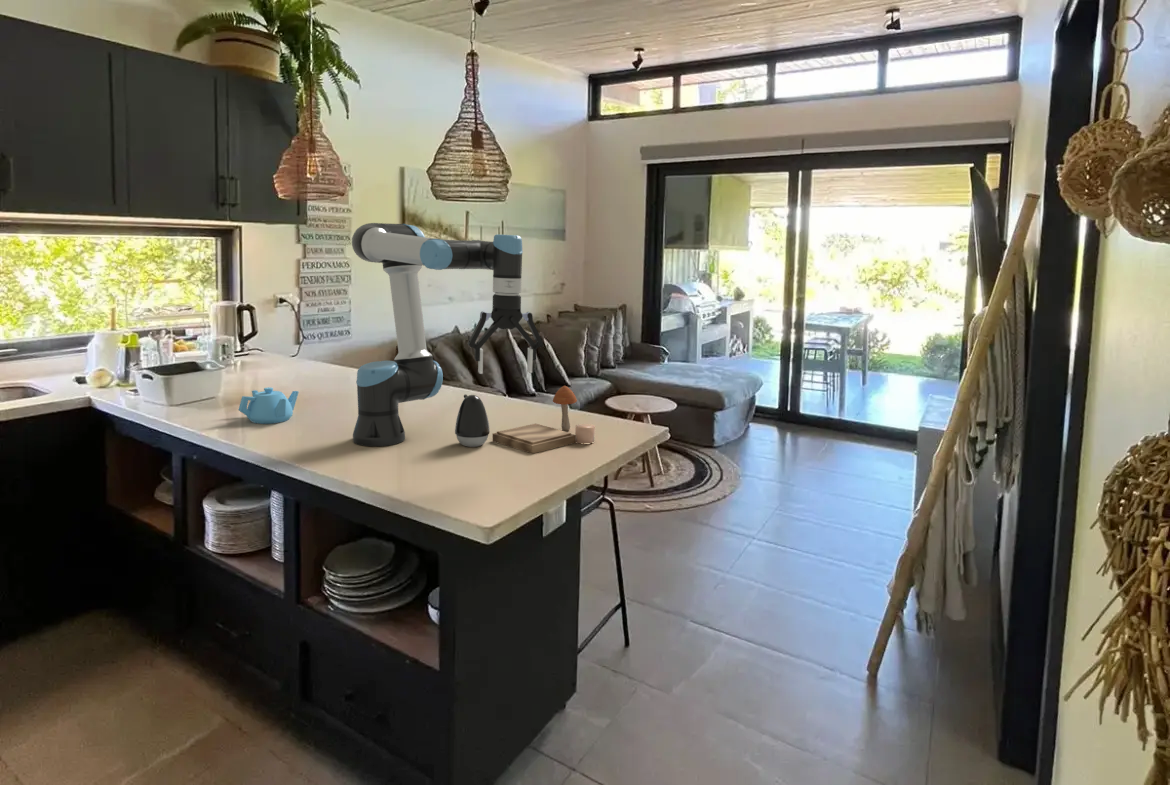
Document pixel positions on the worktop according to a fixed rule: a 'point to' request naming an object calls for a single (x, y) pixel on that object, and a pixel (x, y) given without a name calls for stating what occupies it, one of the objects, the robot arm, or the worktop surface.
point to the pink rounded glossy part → (585, 433)
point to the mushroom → (564, 404)
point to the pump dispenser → (472, 422)
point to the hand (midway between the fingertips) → (505, 372)
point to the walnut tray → (534, 438)
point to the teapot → (268, 406)
